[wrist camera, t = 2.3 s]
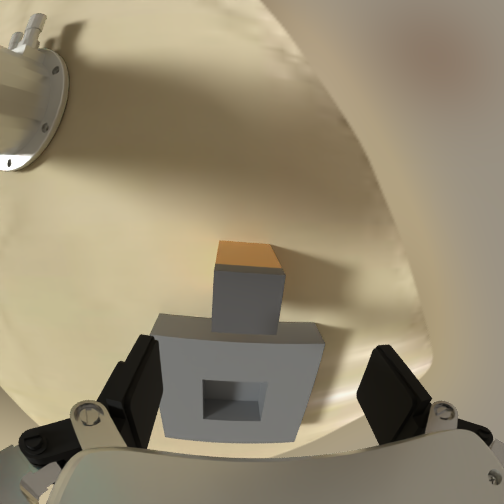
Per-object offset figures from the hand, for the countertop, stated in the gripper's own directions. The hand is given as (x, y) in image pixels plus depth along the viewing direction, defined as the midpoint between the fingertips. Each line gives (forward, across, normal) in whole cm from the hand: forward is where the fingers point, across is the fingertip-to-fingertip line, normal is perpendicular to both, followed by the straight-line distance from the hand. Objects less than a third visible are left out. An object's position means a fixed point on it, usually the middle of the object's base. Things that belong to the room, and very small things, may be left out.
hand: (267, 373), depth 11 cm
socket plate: (+13, +1, +11) cm, 17 cm away
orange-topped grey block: (+13, +1, -1) cm, 13 cm away
